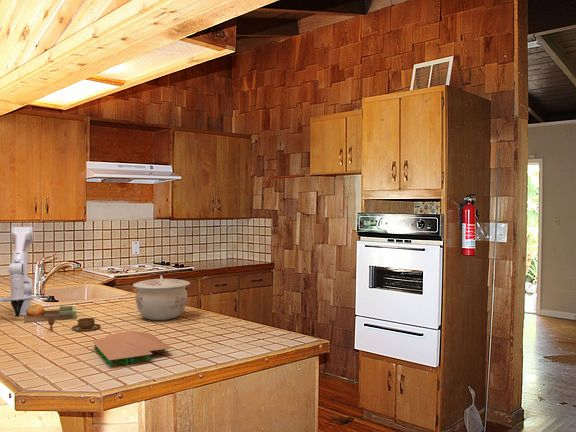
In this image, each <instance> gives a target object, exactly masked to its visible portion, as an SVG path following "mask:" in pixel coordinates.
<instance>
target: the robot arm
mask: <svg viewBox="0 0 576 432" xmlns="http://www.w3.org/2000/svg"><path fill="white" fill-rule="evenodd" d="M10 237H11V240H12V241H11V242H12V243H13V244H14V245H15V247H14V248H15V250H13V252H12V253H11V254H12V255H11V259H10V264H9V265H8V274H9V279H10V281H9V282H10V296H7V297H6V296H5V297H0V303H9V302H10V304H11V306H12V308H13V310H14V312H13V314H12V316H14V317H16V318H17V317H20V316H26V311H27V309H28V308H29V307H30V306H31V301H35V295H33V294H34V281H33V279H32V278H31V277H28V258H29V246H30V245H31V244H33V241H34V227H33V226H32V225H31V226H12V227H11V228H10Z"/></svg>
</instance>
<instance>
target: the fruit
mask: <svg viewBox="0 0 576 432" xmlns="http://www.w3.org/2000/svg"><path fill="white" fill-rule="evenodd" d="M45 311H46V310H45V308H44V306H43V305H42V304H40V303H38V304H37V303H36V304H32V305H30V307H29V308H28V309H27V311H26V313H27V316H28V317H29V316H43V315H44V312H45Z"/></svg>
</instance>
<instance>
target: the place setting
mask: <svg viewBox="0 0 576 432" xmlns="http://www.w3.org/2000/svg"><path fill="white" fill-rule="evenodd" d="M47 322H48V325H49V326H50V327H49V330H50V332H53V329H54V328H53V325H54V324H55V321H54V318H49V319H48V321H47ZM100 328H101V324H98V323H95V318H93V317H83V318H79V319H77V324H76V325H73V326H72V327H71V330H72V331H73V332H76V333H77V332H78V333H87V332H94V331H95V332H96V331H98V330H100Z"/></svg>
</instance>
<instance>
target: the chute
mask: <svg viewBox="0 0 576 432" xmlns="http://www.w3.org/2000/svg"><path fill="white" fill-rule="evenodd" d="M49 318H54V322H55V321H65V320H77V306H73V305H68V306H67V305H64V306H59V309H51V310H50V309H49V310H48V309H47V310H45V312H44V315H43V316H29V317H28V316H27V313H26V315H25V316H24V317H23V322H24V323H25V324H26V323H27V324H28V323H38V322H39V323H40V322H48V319H49Z"/></svg>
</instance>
